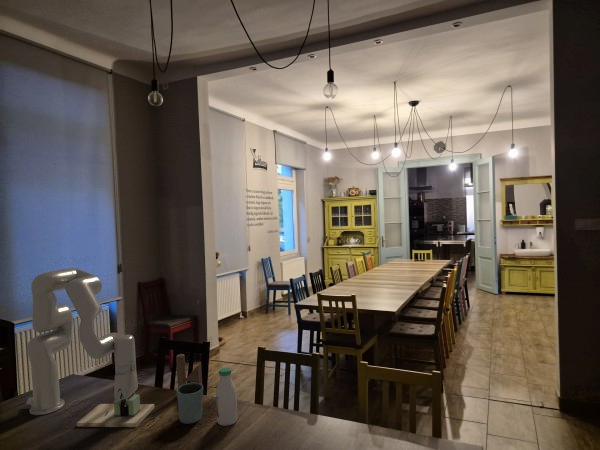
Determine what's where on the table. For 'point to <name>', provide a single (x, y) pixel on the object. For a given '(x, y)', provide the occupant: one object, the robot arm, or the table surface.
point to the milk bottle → (226, 399)
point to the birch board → (113, 417)
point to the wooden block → (181, 374)
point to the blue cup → (190, 402)
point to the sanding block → (129, 406)
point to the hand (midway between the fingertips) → (128, 411)
